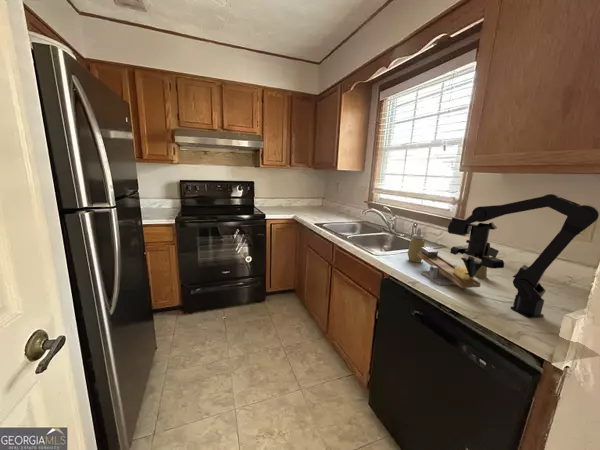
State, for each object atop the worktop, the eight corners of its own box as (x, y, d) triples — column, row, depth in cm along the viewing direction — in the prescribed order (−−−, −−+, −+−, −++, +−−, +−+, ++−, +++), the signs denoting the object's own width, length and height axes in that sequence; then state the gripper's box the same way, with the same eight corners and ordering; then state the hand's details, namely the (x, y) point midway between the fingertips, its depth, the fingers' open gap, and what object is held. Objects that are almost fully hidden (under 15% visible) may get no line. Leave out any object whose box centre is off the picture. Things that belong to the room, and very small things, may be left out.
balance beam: (479, 287, 101) (481, 282, 100) (461, 288, 99) (463, 283, 98) (432, 254, 126) (433, 251, 126) (417, 255, 124) (417, 251, 124)
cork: (489, 279, 115) (494, 256, 113) (474, 277, 116) (479, 254, 114) (482, 274, 121) (487, 252, 119) (468, 272, 122) (472, 251, 120)
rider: (472, 281, 102) (475, 272, 101) (461, 281, 101) (464, 273, 100) (462, 274, 107) (465, 266, 105) (452, 275, 106) (455, 266, 104)
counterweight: (436, 257, 121) (438, 251, 120) (427, 257, 120) (428, 251, 119) (429, 252, 126) (431, 247, 125) (420, 252, 124) (421, 247, 123)
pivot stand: (468, 283, 109) (471, 270, 108) (439, 285, 106) (441, 272, 105) (447, 272, 121) (449, 260, 119) (420, 274, 118) (422, 261, 116)
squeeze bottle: (425, 264, 131) (430, 230, 128) (408, 262, 132) (413, 229, 129) (420, 259, 139) (425, 227, 135) (405, 257, 140) (409, 226, 137)
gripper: (520, 245, 89) (511, 286, 92) (474, 233, 107) (468, 268, 110) (495, 245, 87) (486, 288, 90) (452, 233, 105) (446, 269, 108)
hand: (471, 277), depth 99 cm, fingers closed
